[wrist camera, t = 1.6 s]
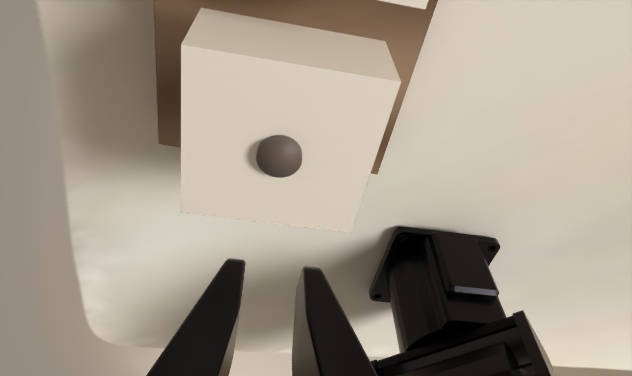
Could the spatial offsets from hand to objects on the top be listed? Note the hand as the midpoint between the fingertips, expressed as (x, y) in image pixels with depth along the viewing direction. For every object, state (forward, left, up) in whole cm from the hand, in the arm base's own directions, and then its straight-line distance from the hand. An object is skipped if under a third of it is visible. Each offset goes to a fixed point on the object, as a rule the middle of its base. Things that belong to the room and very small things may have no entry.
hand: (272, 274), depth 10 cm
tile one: (0, 0, -8) cm, 8 cm away
